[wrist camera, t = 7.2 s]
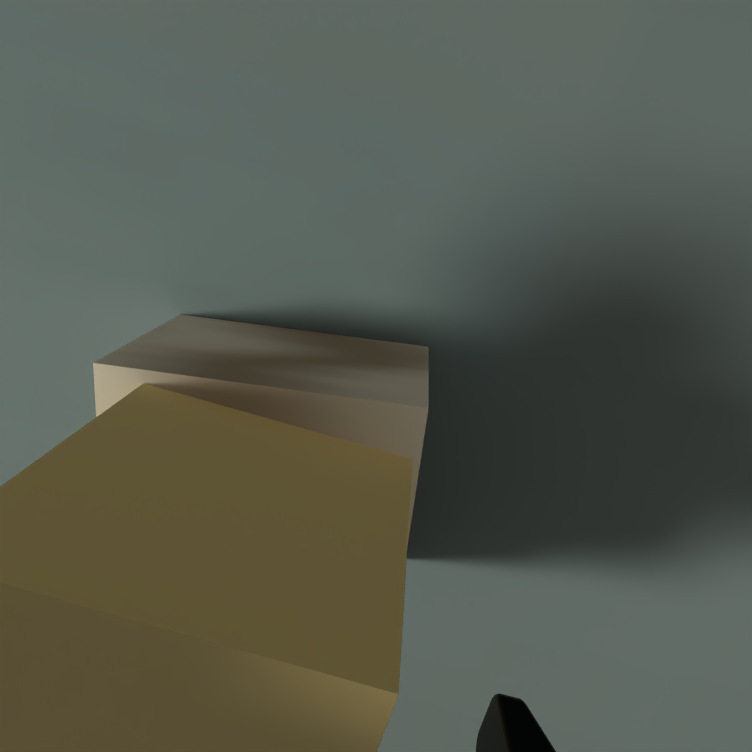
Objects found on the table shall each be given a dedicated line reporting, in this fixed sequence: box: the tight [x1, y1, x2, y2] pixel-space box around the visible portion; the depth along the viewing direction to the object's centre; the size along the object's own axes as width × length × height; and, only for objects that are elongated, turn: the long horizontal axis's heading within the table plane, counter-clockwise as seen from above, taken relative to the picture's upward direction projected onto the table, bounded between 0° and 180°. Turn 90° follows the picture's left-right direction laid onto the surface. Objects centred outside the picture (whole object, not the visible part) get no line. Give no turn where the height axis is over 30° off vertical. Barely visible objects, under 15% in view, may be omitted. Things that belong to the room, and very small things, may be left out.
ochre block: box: [0, 383, 413, 752], centre depth 9 cm, size 5×5×5 cm
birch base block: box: [93, 314, 429, 547], centre depth 13 cm, size 6×6×4 cm
